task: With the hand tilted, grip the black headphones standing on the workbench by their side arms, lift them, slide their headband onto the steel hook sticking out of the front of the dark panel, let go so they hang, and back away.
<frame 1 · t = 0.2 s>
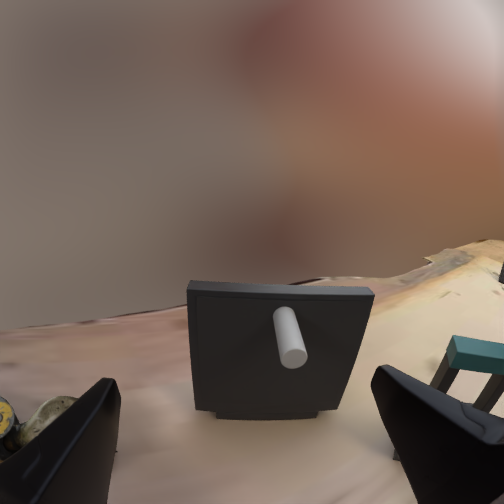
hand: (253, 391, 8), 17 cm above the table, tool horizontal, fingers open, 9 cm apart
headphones: (424, 448, 19), on the table
dark panel: (266, 414, 25), on the table
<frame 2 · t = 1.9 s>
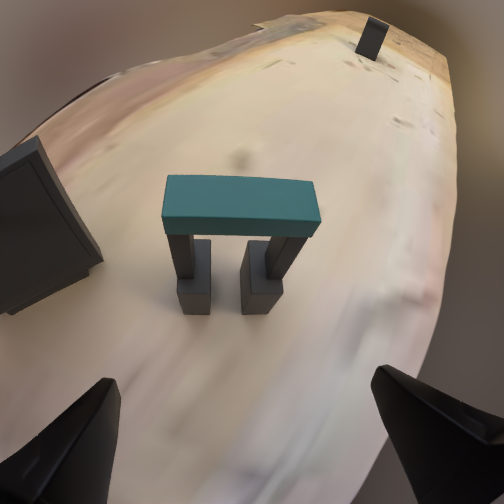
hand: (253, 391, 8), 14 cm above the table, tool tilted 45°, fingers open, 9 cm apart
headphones: (225, 292, 24), on the table
phone stand: (365, 53, 60), on the table
dark panel: (45, 289, 21), on the table
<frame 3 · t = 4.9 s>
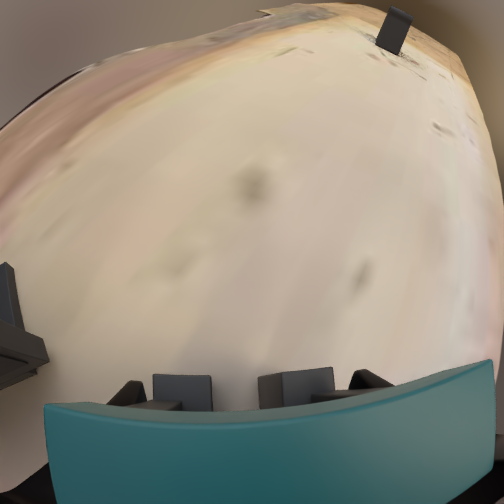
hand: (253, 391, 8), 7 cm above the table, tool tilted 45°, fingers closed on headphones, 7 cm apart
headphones: (236, 411, 14), on the table, touching gripper
phone stand: (386, 47, 50), on the table
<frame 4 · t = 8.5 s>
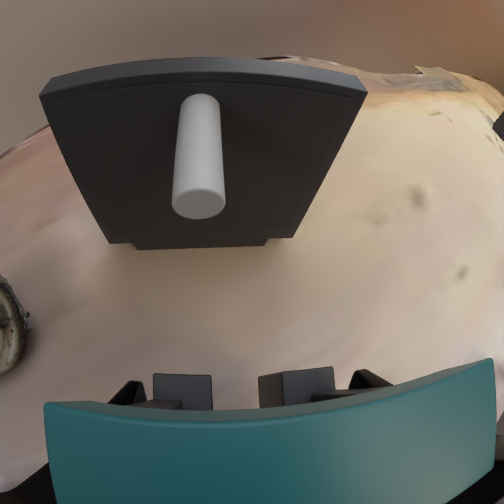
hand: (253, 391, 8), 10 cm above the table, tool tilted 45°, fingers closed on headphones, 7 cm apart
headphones: (236, 411, 14), point 3 cm above the table, touching gripper
phone stand: (499, 133, 51), on the table
dark panel: (200, 239, 22), on the table
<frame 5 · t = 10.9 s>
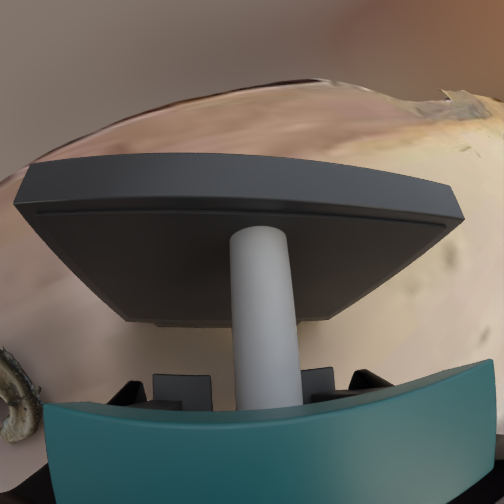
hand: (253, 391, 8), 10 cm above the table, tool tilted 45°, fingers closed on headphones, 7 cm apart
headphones: (236, 411, 14), point 3 cm above the table, touching gripper
dark panel: (227, 317, 20), on the table
when the fingers open (9 cm above the table, at t = 12.4 s): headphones stays where it is, resting on dark panel.
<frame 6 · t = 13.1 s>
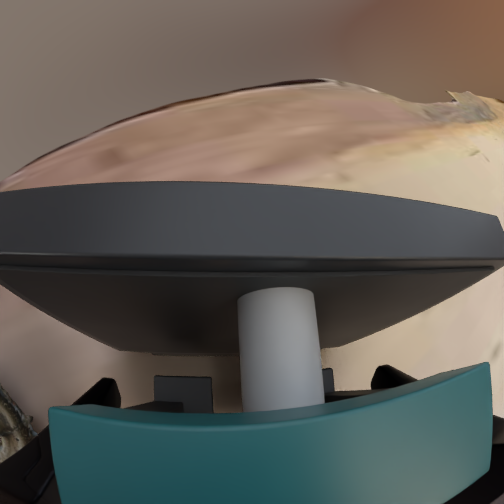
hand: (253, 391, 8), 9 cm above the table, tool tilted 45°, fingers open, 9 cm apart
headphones: (236, 412, 14), point 2 cm above the table, touching dark panel
dark panel: (230, 344, 17), on the table
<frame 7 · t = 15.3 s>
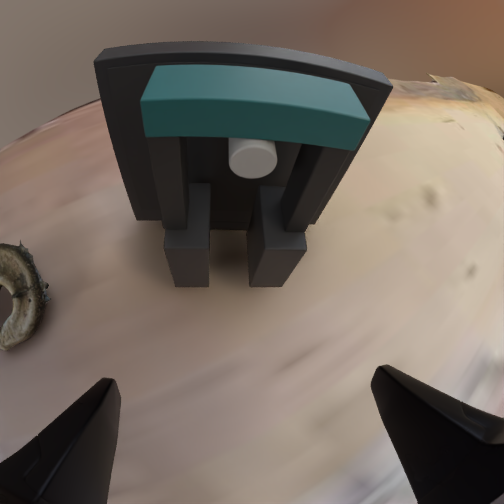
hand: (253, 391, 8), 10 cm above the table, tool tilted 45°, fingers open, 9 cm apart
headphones: (228, 259, 19), point 2 cm above the table, touching dark panel
dark panel: (225, 221, 23), on the table
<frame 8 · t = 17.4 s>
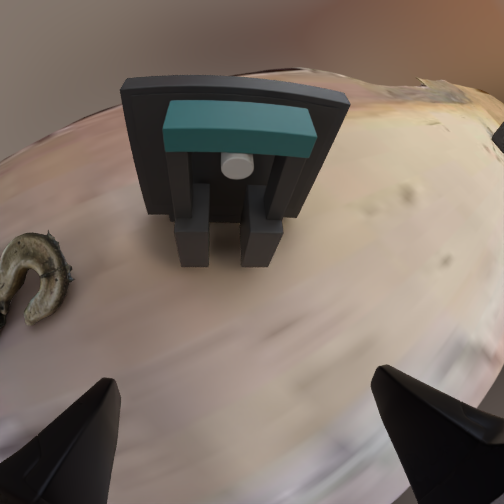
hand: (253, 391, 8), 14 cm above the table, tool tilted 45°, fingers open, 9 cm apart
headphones: (224, 245, 24), point 2 cm above the table, touching dark panel
phone stand: (498, 143, 55), on the table
dark panel: (222, 216, 27), on the table
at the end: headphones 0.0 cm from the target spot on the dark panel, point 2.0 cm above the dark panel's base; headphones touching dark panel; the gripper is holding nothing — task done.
